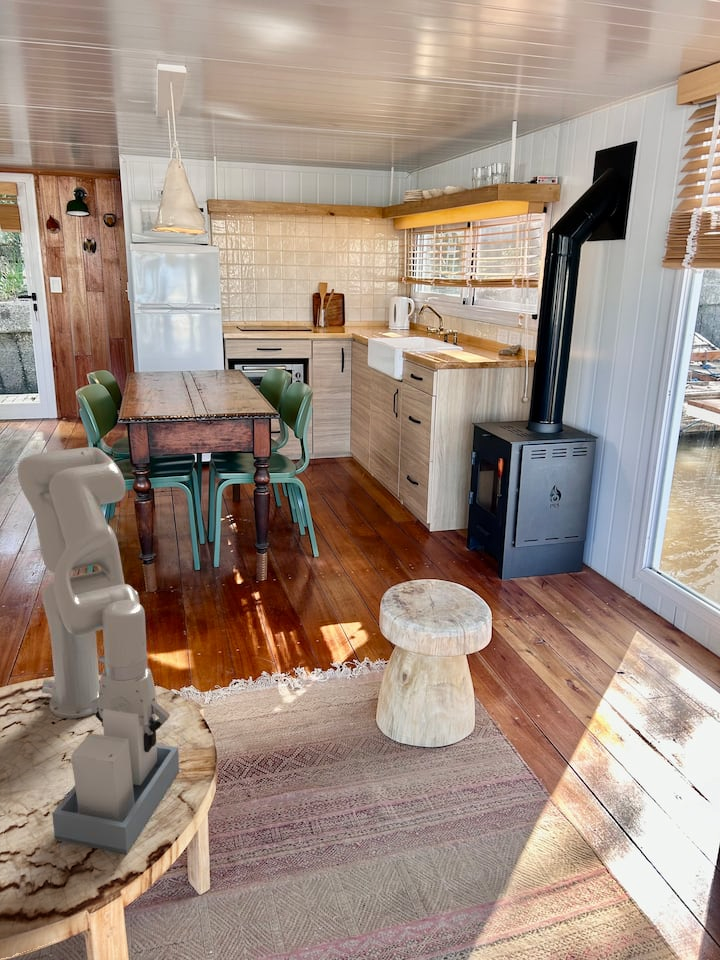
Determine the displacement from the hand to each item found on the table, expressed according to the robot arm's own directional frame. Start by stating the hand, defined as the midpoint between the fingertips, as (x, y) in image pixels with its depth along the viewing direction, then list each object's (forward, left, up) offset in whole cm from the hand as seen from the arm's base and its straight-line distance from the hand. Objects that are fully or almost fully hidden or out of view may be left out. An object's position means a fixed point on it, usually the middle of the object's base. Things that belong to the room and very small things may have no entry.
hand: (131, 743), depth 143 cm
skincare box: (-1, -9, -9) cm, 13 cm away
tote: (0, -5, -10) cm, 11 cm away
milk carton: (0, 0, -6) cm, 6 cm away
